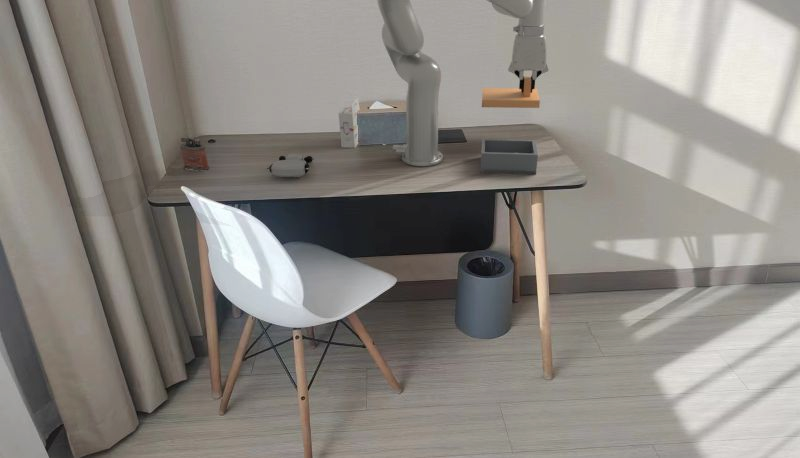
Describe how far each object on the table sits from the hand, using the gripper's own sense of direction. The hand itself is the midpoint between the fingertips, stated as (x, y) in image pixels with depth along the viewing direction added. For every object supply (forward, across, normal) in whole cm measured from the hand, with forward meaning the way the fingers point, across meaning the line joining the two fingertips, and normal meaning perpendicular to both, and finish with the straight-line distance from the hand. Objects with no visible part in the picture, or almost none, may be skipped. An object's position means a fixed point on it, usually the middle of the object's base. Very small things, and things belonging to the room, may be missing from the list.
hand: (526, 91), depth 189 cm
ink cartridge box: (+17, -56, -4) cm, 59 cm away
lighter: (+17, -99, -29) cm, 105 cm away
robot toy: (+17, -69, -29) cm, 77 cm away
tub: (+17, -5, -19) cm, 26 cm away
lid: (+3, -5, 0) cm, 6 cm away
